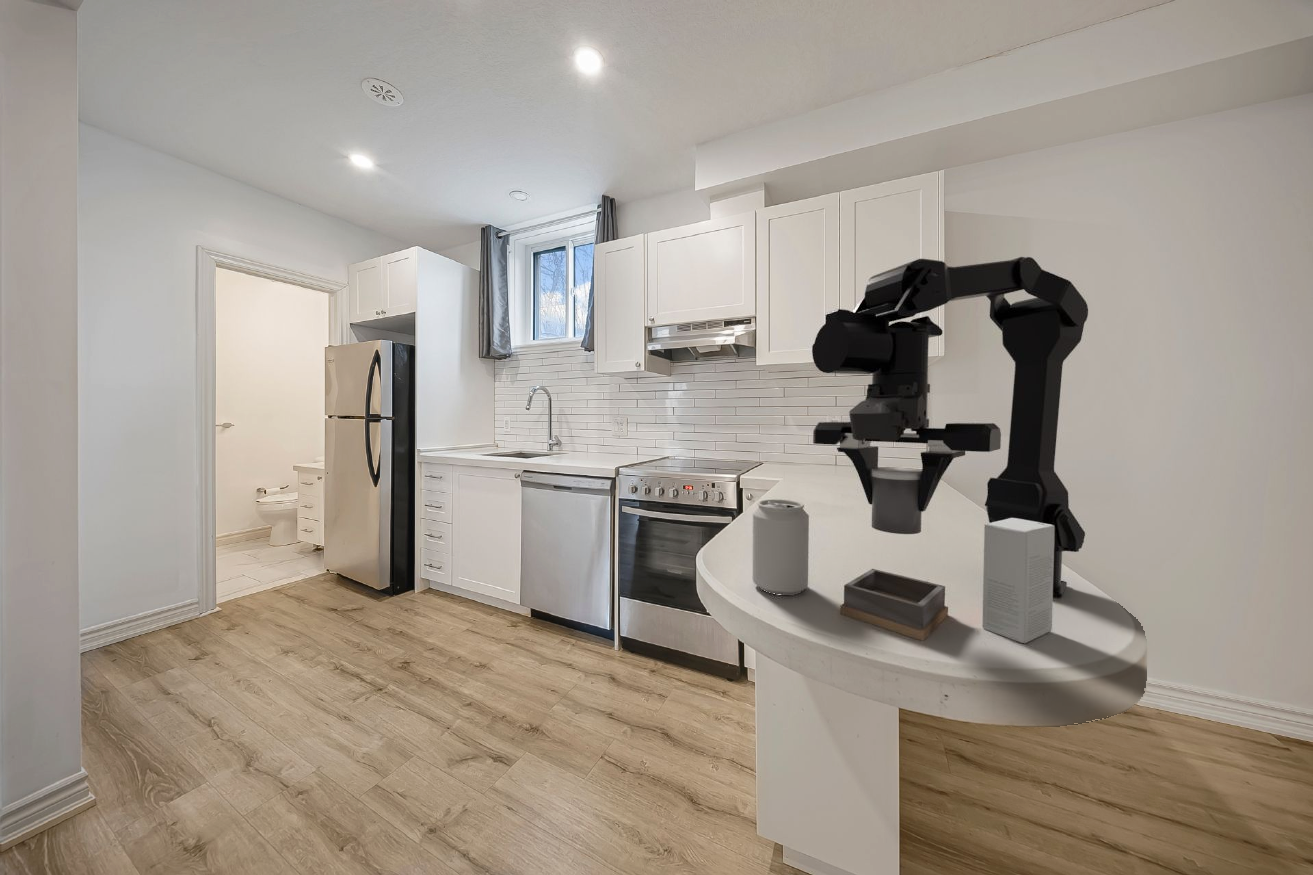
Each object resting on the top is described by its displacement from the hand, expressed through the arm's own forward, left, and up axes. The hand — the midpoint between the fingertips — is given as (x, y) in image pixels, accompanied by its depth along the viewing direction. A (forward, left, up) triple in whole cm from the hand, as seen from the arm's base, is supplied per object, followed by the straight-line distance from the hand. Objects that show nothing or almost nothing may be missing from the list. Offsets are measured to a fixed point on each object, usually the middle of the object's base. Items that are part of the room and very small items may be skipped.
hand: (896, 507), depth 53 cm
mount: (0, 0, -13) cm, 13 cm away
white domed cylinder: (0, 0, -2) cm, 2 cm away
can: (+3, -14, -13) cm, 19 cm away
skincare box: (-6, +11, -13) cm, 18 cm away
